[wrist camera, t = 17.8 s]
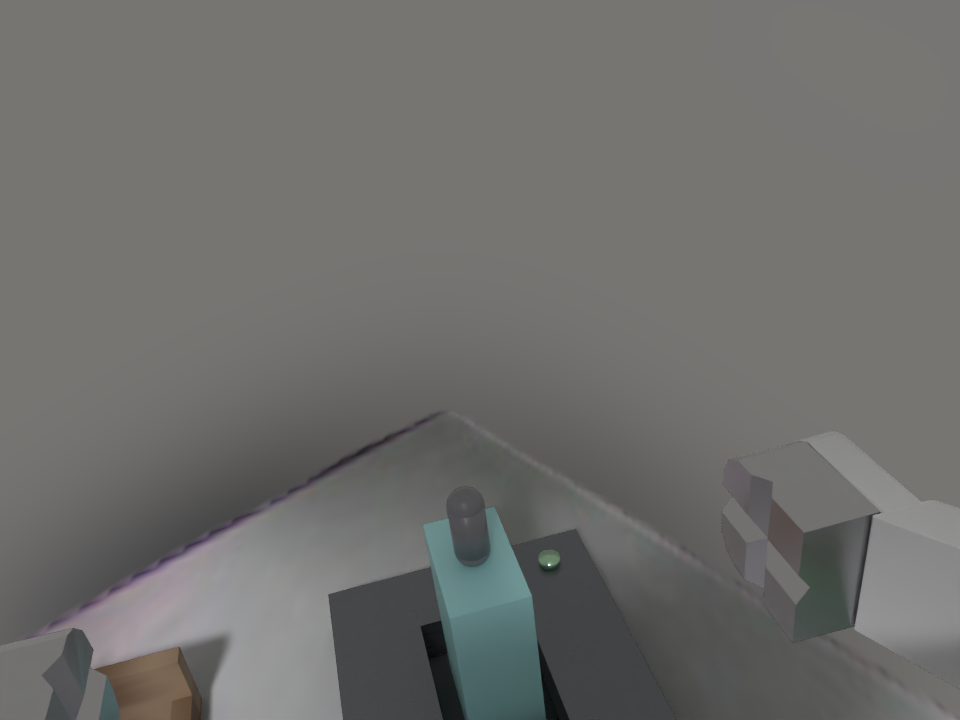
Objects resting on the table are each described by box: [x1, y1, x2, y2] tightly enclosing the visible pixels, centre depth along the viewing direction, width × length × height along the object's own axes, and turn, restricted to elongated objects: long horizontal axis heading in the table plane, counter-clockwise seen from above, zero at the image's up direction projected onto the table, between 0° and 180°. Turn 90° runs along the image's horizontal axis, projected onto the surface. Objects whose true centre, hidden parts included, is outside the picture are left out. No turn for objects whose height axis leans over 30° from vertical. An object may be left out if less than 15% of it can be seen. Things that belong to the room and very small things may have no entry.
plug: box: [423, 487, 546, 720], centre depth 38 cm, size 4×6×14 cm, turn 14°
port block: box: [328, 529, 677, 720], centre depth 40 cm, size 14×16×3 cm
